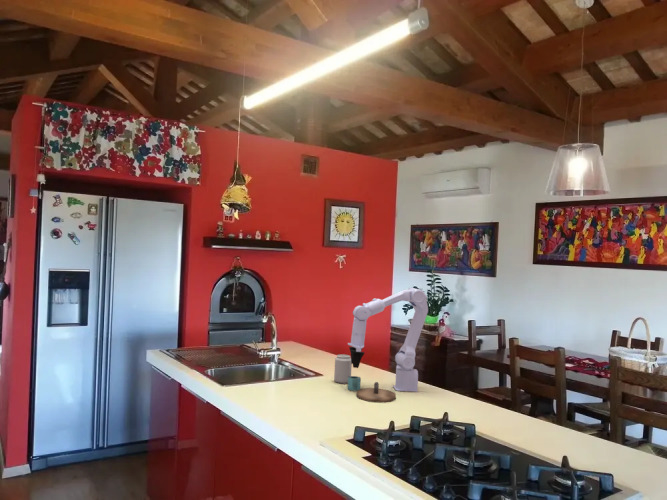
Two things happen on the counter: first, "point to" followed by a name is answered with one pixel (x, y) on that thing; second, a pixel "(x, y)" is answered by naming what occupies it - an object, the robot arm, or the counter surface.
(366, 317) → the robot arm
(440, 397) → the counter surface
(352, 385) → the collar
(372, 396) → the stand
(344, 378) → the can
